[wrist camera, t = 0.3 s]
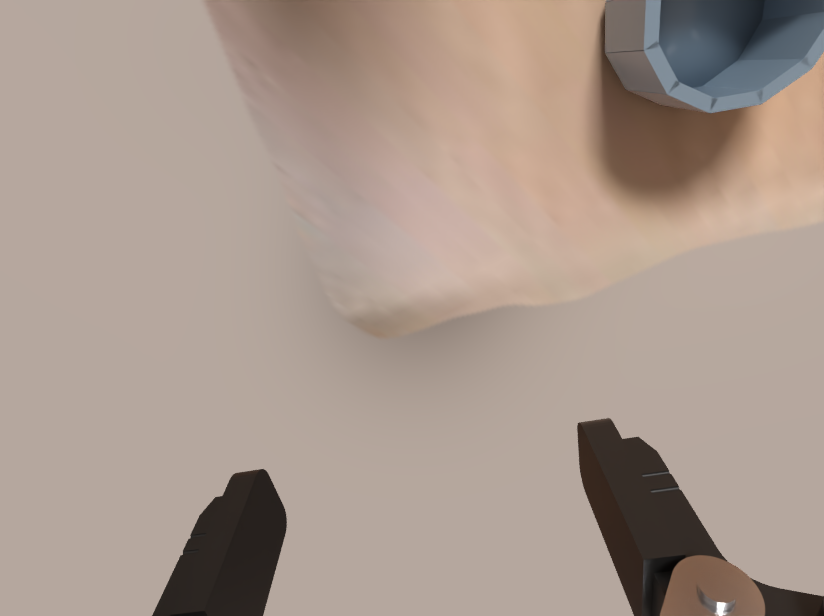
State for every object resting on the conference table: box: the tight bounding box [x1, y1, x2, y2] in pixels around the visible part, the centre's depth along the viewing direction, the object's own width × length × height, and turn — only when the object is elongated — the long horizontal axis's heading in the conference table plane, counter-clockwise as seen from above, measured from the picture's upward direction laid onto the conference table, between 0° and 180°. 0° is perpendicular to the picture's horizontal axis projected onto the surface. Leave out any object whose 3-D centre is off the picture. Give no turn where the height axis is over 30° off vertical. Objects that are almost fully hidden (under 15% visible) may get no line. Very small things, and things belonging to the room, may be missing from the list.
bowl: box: [605, 0, 824, 113], centre depth 29 cm, size 11×11×7 cm
